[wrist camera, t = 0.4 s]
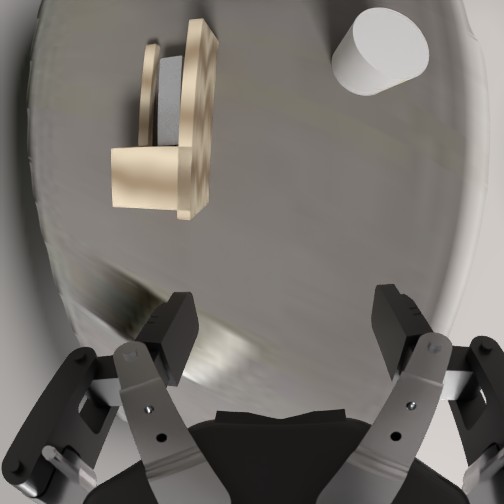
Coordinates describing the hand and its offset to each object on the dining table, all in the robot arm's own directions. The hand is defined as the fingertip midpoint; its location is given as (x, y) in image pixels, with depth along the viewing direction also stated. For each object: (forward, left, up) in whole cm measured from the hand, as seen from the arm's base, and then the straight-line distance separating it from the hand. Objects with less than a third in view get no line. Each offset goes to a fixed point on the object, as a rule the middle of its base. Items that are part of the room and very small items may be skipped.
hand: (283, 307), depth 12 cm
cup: (-19, +9, -28) cm, 35 cm away
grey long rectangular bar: (-12, -15, -28) cm, 33 cm away
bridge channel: (-9, -15, -27) cm, 32 cm away
